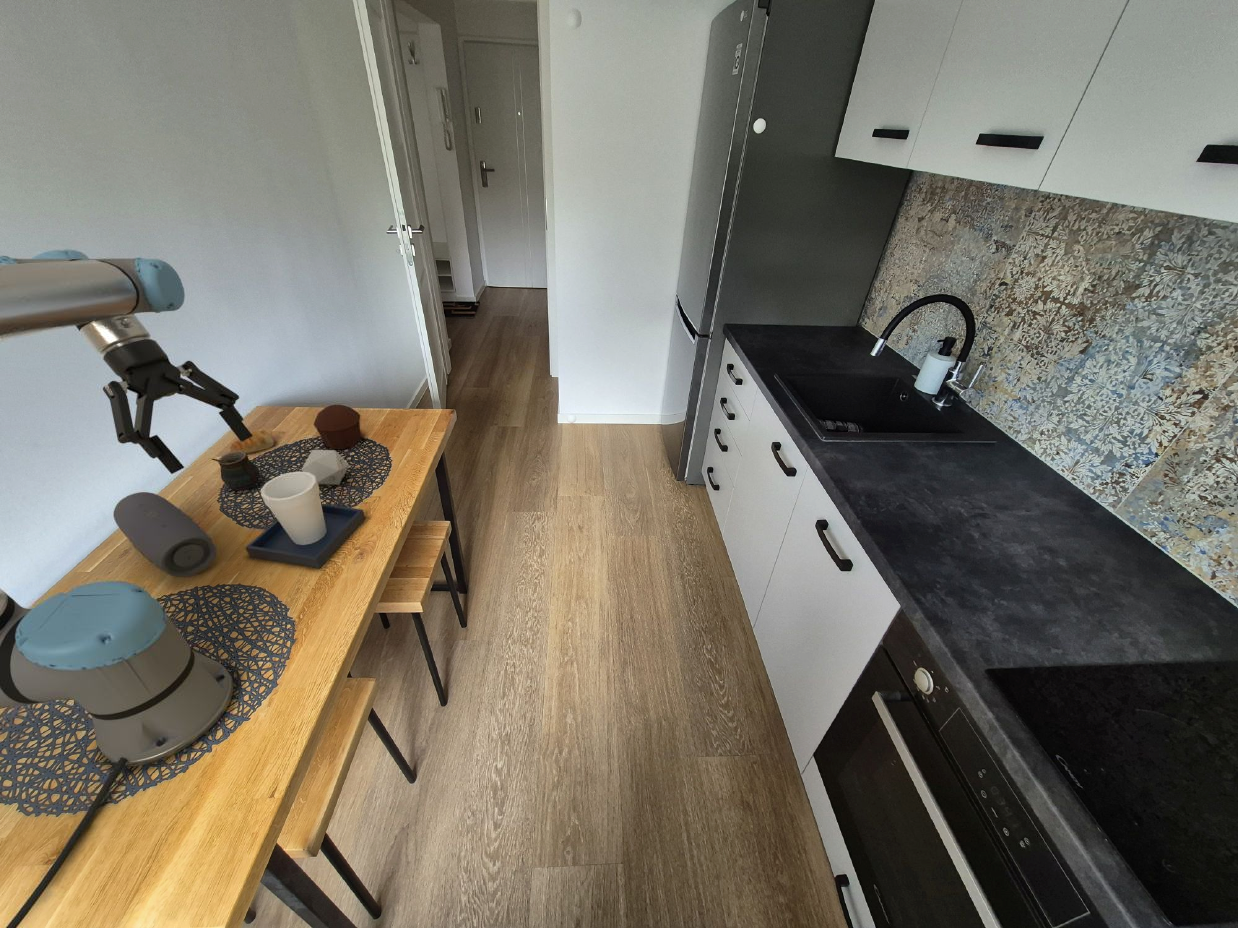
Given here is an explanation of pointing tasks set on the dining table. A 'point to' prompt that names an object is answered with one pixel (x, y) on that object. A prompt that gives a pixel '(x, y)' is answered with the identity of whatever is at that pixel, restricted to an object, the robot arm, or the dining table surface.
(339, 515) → the tray
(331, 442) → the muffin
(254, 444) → the pastry
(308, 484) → the foam cup
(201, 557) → the bluetooth speaker
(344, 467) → the die
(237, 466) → the dark brown pitcher
